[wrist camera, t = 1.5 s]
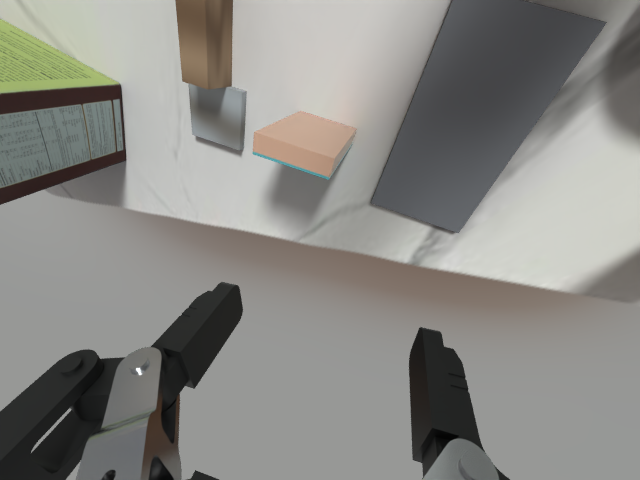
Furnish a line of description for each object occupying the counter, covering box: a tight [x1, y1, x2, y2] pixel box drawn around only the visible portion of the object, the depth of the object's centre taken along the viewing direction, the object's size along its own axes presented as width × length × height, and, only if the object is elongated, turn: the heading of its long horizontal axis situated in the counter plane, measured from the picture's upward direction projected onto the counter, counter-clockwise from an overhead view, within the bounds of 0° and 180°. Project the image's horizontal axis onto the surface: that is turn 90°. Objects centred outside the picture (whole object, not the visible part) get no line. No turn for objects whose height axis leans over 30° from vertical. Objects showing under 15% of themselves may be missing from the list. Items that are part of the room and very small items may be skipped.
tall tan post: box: [176, 0, 247, 151], centre depth 24 cm, size 16×6×4 cm, turn 166°
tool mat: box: [371, 0, 607, 233], centre depth 23 cm, size 18×10×1 cm, turn 166°
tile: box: [253, 111, 357, 180], centre depth 22 cm, size 2×6×10 cm, turn 76°
